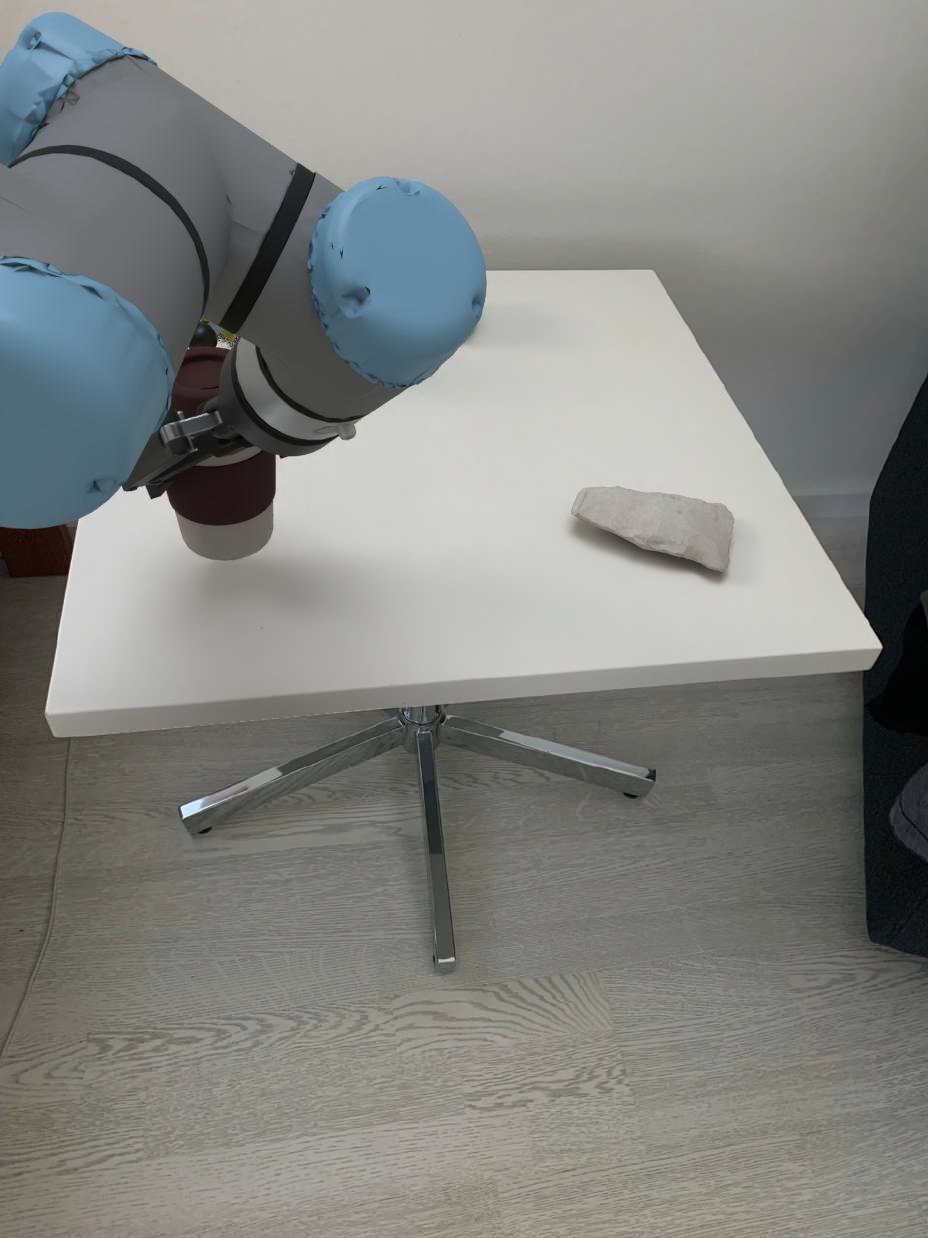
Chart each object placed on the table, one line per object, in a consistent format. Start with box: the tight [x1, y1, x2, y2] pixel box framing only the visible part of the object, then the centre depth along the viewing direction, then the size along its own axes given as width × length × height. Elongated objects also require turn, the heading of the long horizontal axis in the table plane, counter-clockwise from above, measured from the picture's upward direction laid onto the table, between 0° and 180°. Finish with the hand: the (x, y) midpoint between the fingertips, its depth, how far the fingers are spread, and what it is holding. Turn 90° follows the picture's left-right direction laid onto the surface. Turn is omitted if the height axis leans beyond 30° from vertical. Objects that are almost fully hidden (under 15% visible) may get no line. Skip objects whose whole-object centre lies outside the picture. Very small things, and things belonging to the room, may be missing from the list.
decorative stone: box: [570, 485, 735, 573], centre depth 83 cm, size 10×4×15 cm
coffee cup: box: [165, 346, 277, 562], centre depth 68 cm, size 10×10×15 cm
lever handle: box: [188, 321, 225, 349], centre depth 91 cm, size 15×3×3 cm, turn 125°
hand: (215, 460), depth 69 cm, fingers closed on coffee cup, 10 cm apart
